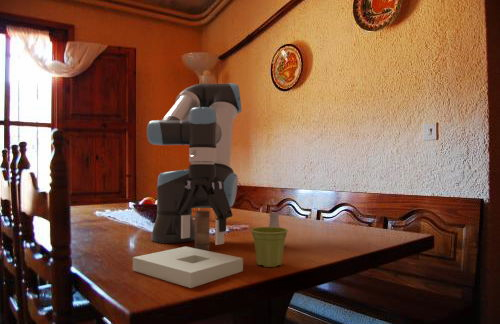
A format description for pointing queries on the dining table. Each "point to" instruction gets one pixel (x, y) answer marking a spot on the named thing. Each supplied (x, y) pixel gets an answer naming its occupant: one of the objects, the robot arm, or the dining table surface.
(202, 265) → the board
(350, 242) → the dining table surface
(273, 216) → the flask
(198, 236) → the peg
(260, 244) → the plant pot
